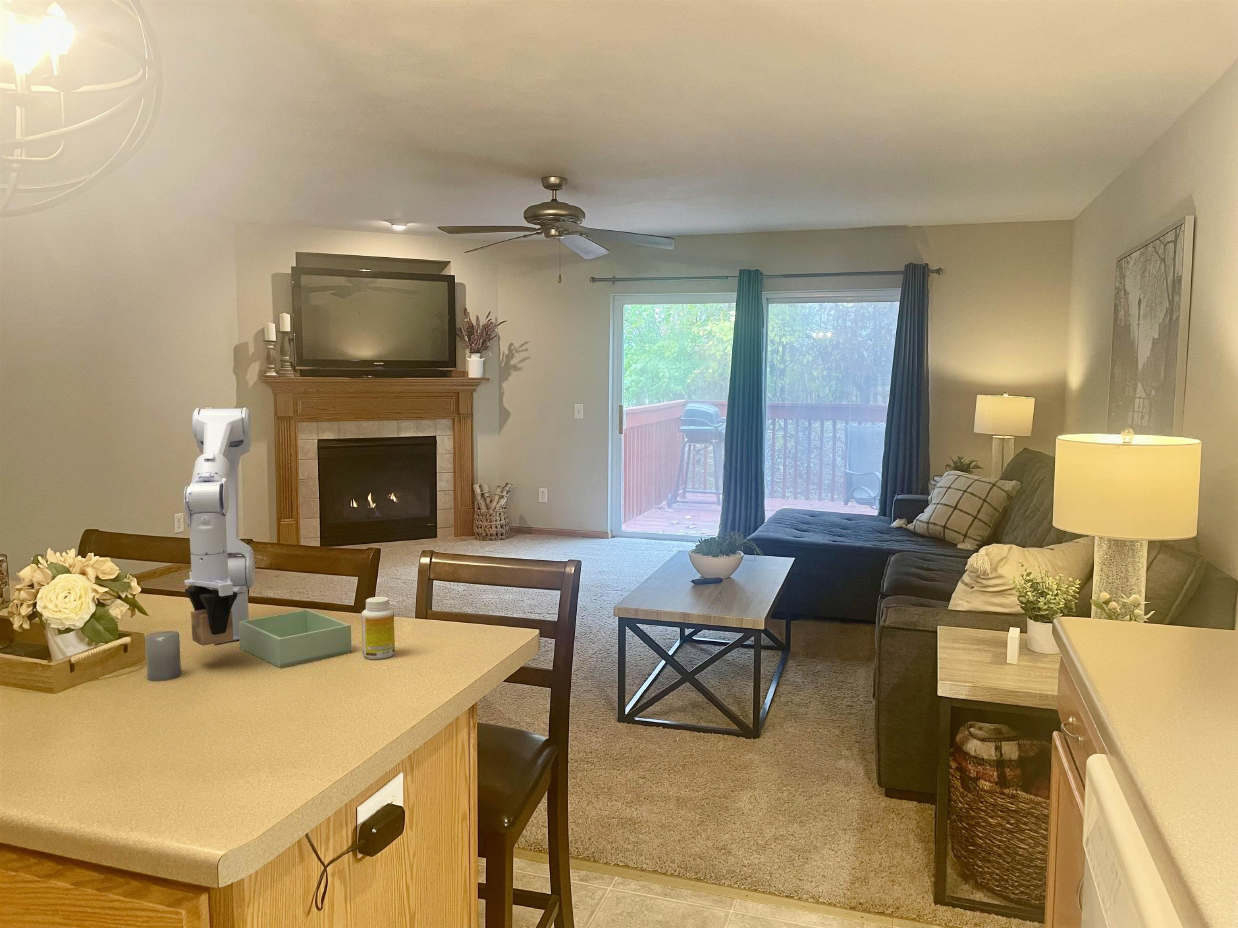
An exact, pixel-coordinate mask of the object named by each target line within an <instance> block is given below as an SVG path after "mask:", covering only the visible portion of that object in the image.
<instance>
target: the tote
mask: <svg viewBox="0 0 1238 928" xmlns="http://www.w3.org/2000/svg"><path fill="white" fill-rule="evenodd" d="M239 635H240V639H239V649H241V650H243V651H245V652H247V653H249V654H250V655H252V656H255V657H257V658H259V659H261V660H263V661H264V662H267V663H269V664H271V665H272V666H274V667H276V668H278V669H282V667H283V668H287V667H291V665H292V666H295V665H296V664H297V665H300V663H301V664H305V662H306V663H309V662H314V661H319V660H323V659H327V658H333V657H336V656H342V655H345V653H346V654H349V653H350V652H351V653H353V652H352V650H353V649H352V648H353V647H352V624H350V623H347V622H343V621H341V620H339V619H336V618H333V617H330V616H327V615H325V614H322V613H319V612H317V611H314V610H312V609H308V608H305V609H301V610H295V611H291V612H290V611H289V612H285V613H284V612H283V613H280V614H274V615H273V614H272V615H267V616H262V617H255V618H249V620H244V621H239Z"/></svg>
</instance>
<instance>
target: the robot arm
mask: <svg viewBox="0 0 1238 928" xmlns="http://www.w3.org/2000/svg"><path fill="white" fill-rule="evenodd" d="M191 421H192V422H191V423H192V433H193V437H194V438H195V442H196V446H197V448H198V449H199V453H201V455H199V456H197V458H196V460H195V462H194V466H193V471H192V476H191V481H190V484H189V485H186V486H185V487H184V491H183V507H184V511H185V516H186V517H185V518H186V526H187V527H188V528H189V546H190V547H189V548H190V550H189V551H190V565H191V567H190V568H191V570H190V571H189V573H188V574H189V575H188V576H189V579H185V580H183V582H184V586H188V587H187V588H185V589H184V592H185V593H184V594H186V595H187V597H188V599H189V600H190V602H191V605H192V607H193V611H198V610H204V609H206V611H207V615H208V620H209V626H210V630H211V633H212V635H217V634H222V633H226V629H227V624H228V619H229V615H230V611H232V622H233V640H230V641H225V642H220V643H215V644H216V645H217V644H221V643H222V644H223V643H229V642H232V641H238V640H239V641H240V635H239V621H244V620H250V617H249V595H248V590H249V589H251V588H252V587H253V586H254V585H255V580H256V563H255V553H254V550H253V548H252V547H251V546H250V545H249V544H246V543H245V542H244V541H242V540H241V539H239V465H240V461H241V457H242V456H243V455H245V454H247V453H249V452H250V451H251V450H250V448H251V446H252V416H251V412H250V410H249V409H248V407H243V408H200V407H197V408H195V410H194V411H193V412H192V419H191ZM190 586H193V587H190ZM215 644H214V645H215Z"/></svg>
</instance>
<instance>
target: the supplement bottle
mask: <svg viewBox="0 0 1238 928" xmlns="http://www.w3.org/2000/svg"><path fill="white" fill-rule="evenodd" d="M394 612H395V611H394V609H392V608H391V607H390V599H389V597H386V596H375V597H374V596H373V597H369V598H367V599H366V600H365V609H364V610H363V611H362V612H361V645H362V646H361V647H362V648H361V649H362V656H363V657H364V658H365V659H369V660H381V659H382V660H383V659H387V658H390V657H392V656H394V654H395V652H396V651H395V649H396V648H395V641H396V640H395V613H394Z"/></svg>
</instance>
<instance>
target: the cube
mask: <svg viewBox="0 0 1238 928" xmlns="http://www.w3.org/2000/svg"><path fill="white" fill-rule="evenodd" d="M190 618H191V619H190V620H191V637H192V641H193V642H195V643H197V644H199V645H200V646H202V647H206V646H209V645H210V646H211V645H215V643H218V644H221V643H220V642H223V643H226V642H225V641H228V642H231V641H230V640H233V622H232V611H230V615H229V619H228V624H227V629H226V633H222V634H217V635H212V633H211V630H210V626H209V620H208V615H207V611H206V609H204V610H198V611H194V610H193V611H190ZM233 641H234V640H233Z"/></svg>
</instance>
